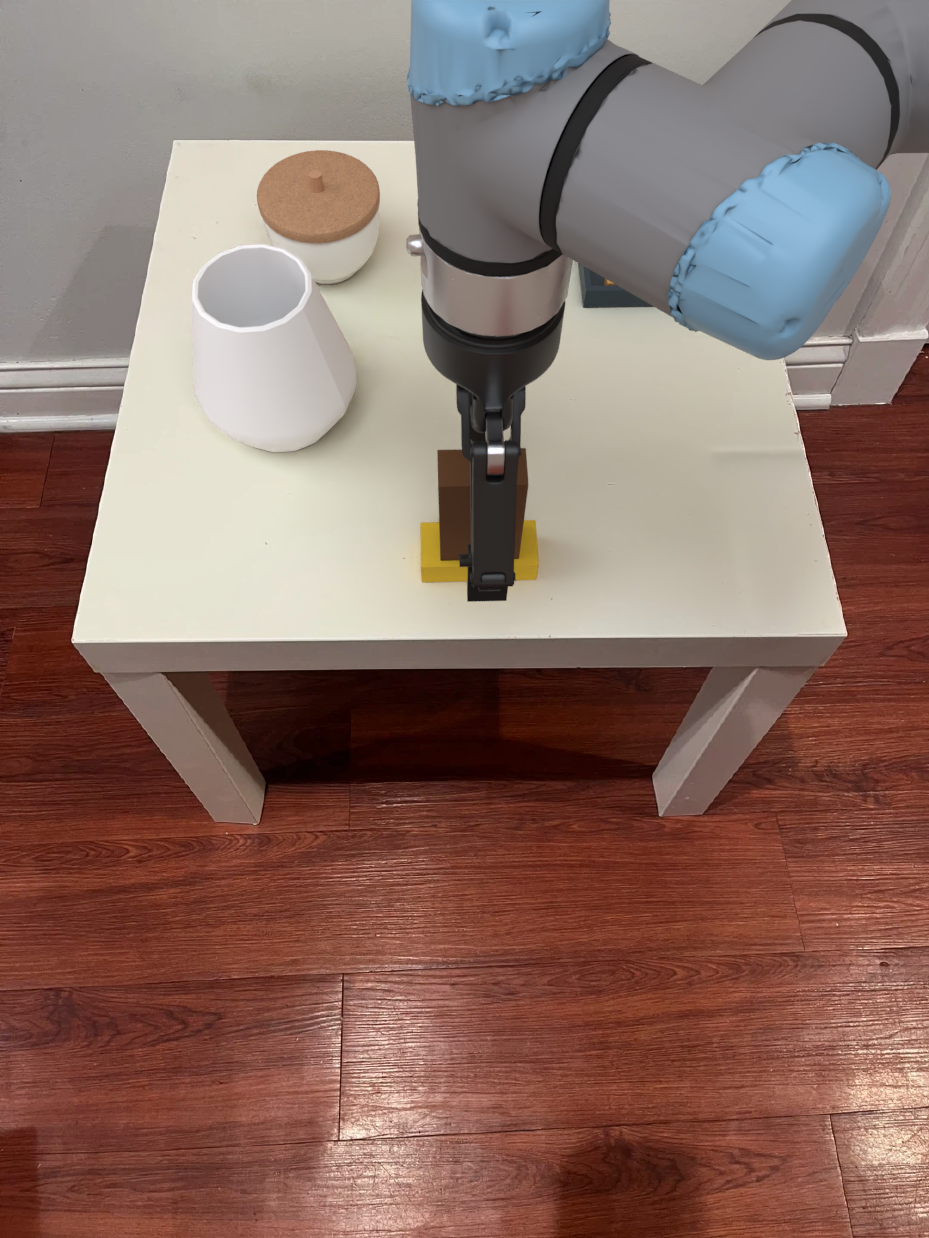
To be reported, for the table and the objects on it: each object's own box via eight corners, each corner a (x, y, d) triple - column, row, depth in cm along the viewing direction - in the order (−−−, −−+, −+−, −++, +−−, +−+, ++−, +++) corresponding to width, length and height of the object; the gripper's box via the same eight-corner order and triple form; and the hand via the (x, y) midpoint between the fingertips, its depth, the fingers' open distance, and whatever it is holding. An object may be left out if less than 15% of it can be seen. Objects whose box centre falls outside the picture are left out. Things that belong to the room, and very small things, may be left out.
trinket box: (252, 283, 84) (229, 197, 76) (303, 209, 88) (287, 120, 80) (356, 316, 82) (345, 232, 74) (403, 239, 87) (397, 151, 78)
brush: (533, 536, 72) (547, 441, 61) (536, 580, 71) (551, 490, 59) (421, 538, 72) (415, 444, 61) (421, 582, 70) (415, 493, 59)
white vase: (263, 329, 82) (228, 197, 69) (390, 385, 79) (378, 259, 66) (174, 434, 76) (119, 312, 64) (307, 497, 74) (277, 384, 61)
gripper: (418, 129, 51) (428, 379, 71) (423, 494, 41) (433, 673, 60) (549, 128, 52) (524, 377, 71) (588, 491, 41) (546, 670, 60)
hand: (482, 513), depth 65 cm, fingers open, 13 cm apart
